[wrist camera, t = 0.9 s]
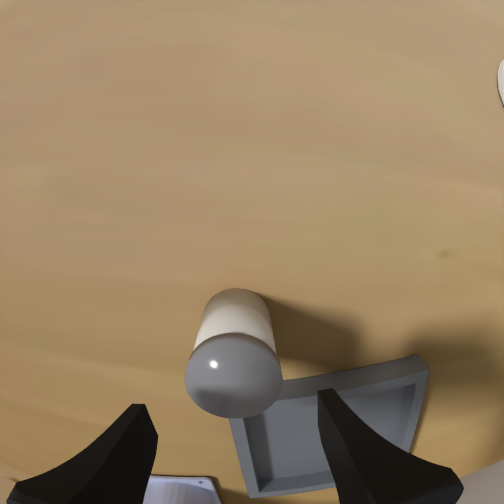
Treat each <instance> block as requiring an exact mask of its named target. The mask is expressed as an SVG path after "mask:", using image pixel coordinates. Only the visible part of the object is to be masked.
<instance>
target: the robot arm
mask: <svg viewBox="0 0 504 504" xmlns="http://www.w3.org/2000/svg"><path fill="white" fill-rule="evenodd" d="M317 398H318V429H319V434H320V438H321V443H322V447H323V450H324V453H325V456H326V458H327V461H328V464H329V467H330V470H331V473H332V476H333V479H334V482H335V485H336V488H337V492H338V496H339V501H340V504H456V502H457V501H458V499H459V498H460V496H461V494H462V492H463V489H464V487H463V485H462V483H461V481H460V479H459V478H458V477H457V475H456V474H455V473H454V472H453V470H452V469H451V468H448V467H444V466H441V465H437V464H434V463H431V462H428V461H426V460H423V459H421V458H418V457H416V456H414V455H412V454H410V453H408V452H406V451H404V450H402V449H400V448H399V447H397V446H395V445H394V444H392V443H391V442H389V441H388V440H386V439H385V438H383V437H382V436H381V435H379V434H378V433H377V432H375V431H374V430H373V429H372V428H371V427H369V426H368V425H367V424H366V423H365V422H364V421H363V420H362V419H361V418H359V417H358V416H357V415H356V414H355V413H354V412H353V411H352V410H351V408H350V407H349V406H348V405H347V404H346V403H345V402H344V401H343V400H342V398H341V397H340V396H339V395H338V393H337V392H336V391H335V390H334V389H333V388H329V389H324V390H318V391H317ZM157 442H158V434H157V432H156V430H155V427H154V425H153V423H152V420H151V418H150V415H149V413H148V411H147V408H146V406H145V404H131V405H130V406H129V407H128V408H127V409H126V410H125V411H124V412H123V413H122V414H121V416H120V417H119V418H118V419H117V420H116V421H115V422H114V423H113V424H112V425H111V426H110V427H109V428H108V429H107V430H106V431H105V432H104V433H103V434H101V435H100V436H99V437H98V438H97V439H96V440H95V441H94V442H92V443H91V444H90V445H89V446H88V447H87V448H85V449H84V450H83V451H81V452H80V453H79V454H77V455H76V456H74V457H73V458H71V459H70V460H68V461H66V462H65V463H63V464H61V465H59V466H58V467H56V468H54V469H52V470H50V471H48V472H45V473H43V474H41V475H38V476H36V477H33V478H30V479H26V480H23V481H20V482H17V483H16V484H15V486H14V488H13V490H12V492H11V493H10V495H9V497H8V499H7V501H6V502H7V504H222V503H221V501H220V499H219V496H218V494H217V492H216V489H215V487H214V484H213V482H212V479H211V478H208V477H171V476H153V475H150V474H151V471H152V467H153V464H154V460H155V456H156V450H157Z"/></svg>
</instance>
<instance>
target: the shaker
mask: <svg viewBox="0 0 504 504" xmlns="http://www.w3.org/2000/svg"><path fill="white" fill-rule="evenodd" d="M185 386H186V389H187V392H188V394H189V396H190V397H191V399H192V400H193V401H194V402H195V403H196V404H197V405H198V406H199V407H200V408H202V409H203V410H205V411H207V412H209V413H211V414H213V415H216V416H220V417H224V418H233V419H236V418H247V417H251V416H254V415H257V414H259V413H262V412H263V411H265V410H267V409H268V408H269V407H271V406H272V405H273V404H274V403H275V402H276V400H277V399H278V397H279V395H280V393H281V390H282V386H283V378H282V372H281V366H280V362H279V359H278V357H277V354H276V348H275V342H274V336H273V330H272V324H271V318H270V312H269V309H268V307H267V305H266V303H265V302H264V301H263V299H262V298H261V297H259V296H258V295H257V294H255V293H253V292H251V291H249V290H246V289H240V288H232V289H227V290H224V291H221V292H219V293H217V294H216V295H215V296H213V297H212V298H211V299H210V300H209V302H208V303H207V305H206V307H205V310H204V313H203V317H202V320H201V324H200V328H199V332H198V335H197V339H196V343H195V347H194V351H193V352H192V354H191V356H190V359H189V362H188V365H187V369H186V373H185Z"/></svg>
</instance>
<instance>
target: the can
mask: <svg viewBox="0 0 504 504" xmlns="http://www.w3.org/2000/svg"><path fill="white" fill-rule="evenodd" d="M497 86H498V92H499V96H500V99H501V102H502V104H503V106H504V60H503V61H502V62H501V64H500V66H499V69H498V74H497Z"/></svg>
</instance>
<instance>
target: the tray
mask: <svg viewBox="0 0 504 504" xmlns="http://www.w3.org/2000/svg"><path fill="white" fill-rule="evenodd" d="M429 371H430V369H429V367H428V366H427V365H426V364H425V363H424V361H423V360H422V359H421V358H420V357H419V355H418V354H417V355H413V356H410V357H406V358H402V359H397V360H393V361H389V362H385V363H380V364H376V365H371V366H367V367H362V368H357V369H352V370H347V371H341V372H336V373H330V374H325V375H319V376H312V377H306V378H299V379H292V380H285V381H283V386H282V390H281V393H280V395H279V397H278V399H277V400H276V402H275V403H274V404H273V405H272V406H271V407H269V408H268V409H267V410H265V411H263V412H262V413H259V414H257V415H254V416H251V417H247V418H236V419H233V418H229V422H230V426H231V430H232V434H233V438H234V442H235V446H236V450H237V454H238V458H239V462H240V466H241V469H242V473H243V477H244V480H245V484H246V488H247V491H248V495H249V498H261V497H272V496H281V495H290V494H297V493H304V492H310V491H316V490H322V489H327V488H333V487H336V485H335V482H334V479H333V476H332V473H331V470H330V467H329V464H328V461H327V458H326V456H325V453H324V450H323V447H322V443H321V438H320V434H319V429H318V398H317V391H318V390H324V389H329V388H333V389H334V390H335V391H336V392H337V393H338V395H339V396H340V397H341V398H342V400H343V401H344V402H345V403H346V404H347V405H348V406H349V407H350V408H351V410H352V411H353V412H354V413H355V414H356V415H357V416H358V417H359V418H361V419H362V420H363V421H364V422H365V423H366V424H367V425H368V426H369V427H371V428H372V429H373V430H374V431H375V432H377V433H378V434H379V435H381V436H382V437H383V438H385V439H386V440H388V441H389V442H391V443H392V444H394V445H395V446H397V447H399V448H400V449H402V450H404V451H406V452H408V453H409V450H410V446H411V443H412V440H413V436H414V433H415V429H416V426H417V422H418V418H419V415H420V411H421V407H422V403H423V398H424V394H425V390H426V385H427V380H428V376H429Z"/></svg>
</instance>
